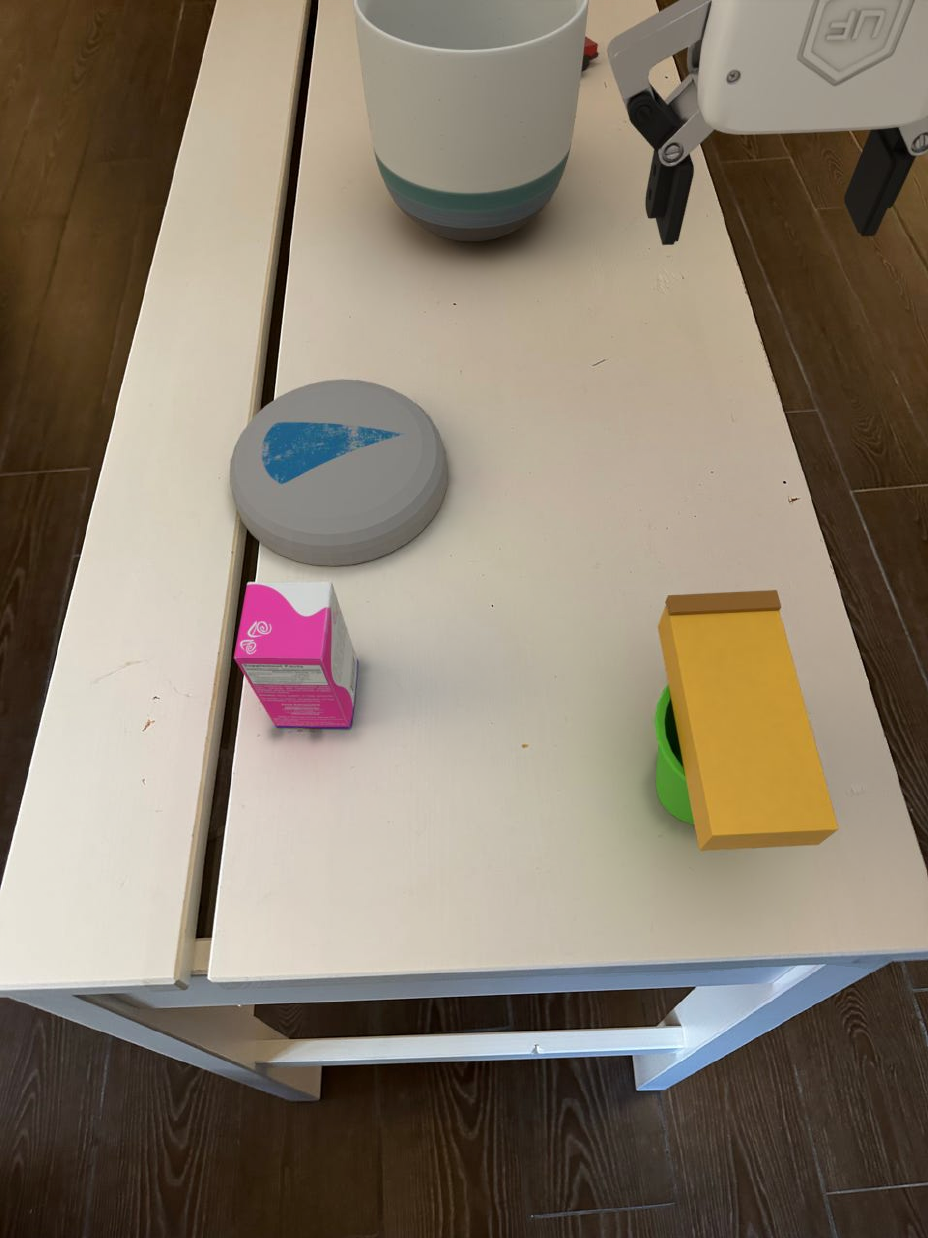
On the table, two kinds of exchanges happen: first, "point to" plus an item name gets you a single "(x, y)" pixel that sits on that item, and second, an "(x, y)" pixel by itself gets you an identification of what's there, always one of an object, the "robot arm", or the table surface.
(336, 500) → the grey frisbee
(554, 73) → the planter
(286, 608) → the supplement box
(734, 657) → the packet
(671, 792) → the cup
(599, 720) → the table surface
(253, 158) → the table surface
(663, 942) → the table surface
